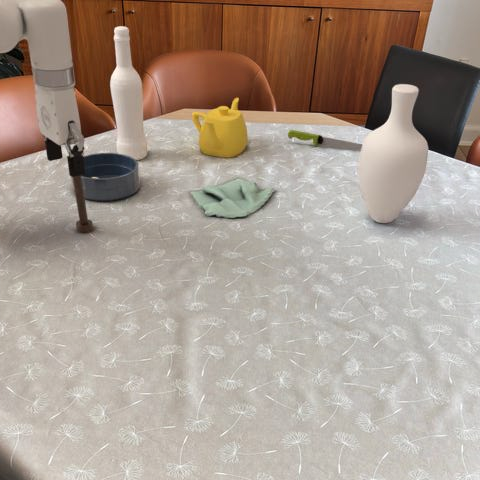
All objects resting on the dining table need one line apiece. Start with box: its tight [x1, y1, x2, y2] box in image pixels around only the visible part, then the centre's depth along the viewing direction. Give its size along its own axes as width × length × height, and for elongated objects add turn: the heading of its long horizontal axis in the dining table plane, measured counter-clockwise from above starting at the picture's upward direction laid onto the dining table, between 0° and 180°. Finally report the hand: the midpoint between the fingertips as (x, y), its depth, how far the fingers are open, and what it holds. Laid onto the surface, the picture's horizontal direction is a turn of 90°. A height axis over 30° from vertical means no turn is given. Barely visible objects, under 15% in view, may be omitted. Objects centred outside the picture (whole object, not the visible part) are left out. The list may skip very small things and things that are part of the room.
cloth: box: [190, 178, 276, 219], centre depth 155 cm, size 20×22×2 cm
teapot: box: [191, 97, 249, 159], centre depth 176 cm, size 22×16×11 cm
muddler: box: [73, 175, 94, 234], centre depth 138 cm, size 4×4×15 cm
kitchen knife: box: [287, 129, 363, 151], centre depth 180 cm, size 22×1×3 cm, turn 77°
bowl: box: [70, 152, 141, 202], centre depth 157 cm, size 16×16×6 cm
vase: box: [357, 83, 429, 224], centre depth 139 cm, size 14×14×28 cm
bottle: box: [109, 25, 149, 161], centre depth 164 cm, size 8×8×30 cm
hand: (66, 167), depth 134 cm, fingers open, 9 cm apart
